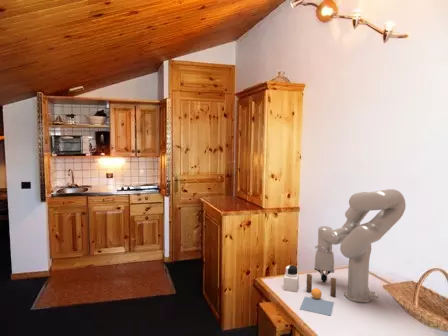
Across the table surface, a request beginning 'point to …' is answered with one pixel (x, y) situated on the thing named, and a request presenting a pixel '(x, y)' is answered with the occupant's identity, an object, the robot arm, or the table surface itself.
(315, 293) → the ball
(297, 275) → the medicine bottle
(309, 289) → the post
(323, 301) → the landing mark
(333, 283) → the post
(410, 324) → the table surface
